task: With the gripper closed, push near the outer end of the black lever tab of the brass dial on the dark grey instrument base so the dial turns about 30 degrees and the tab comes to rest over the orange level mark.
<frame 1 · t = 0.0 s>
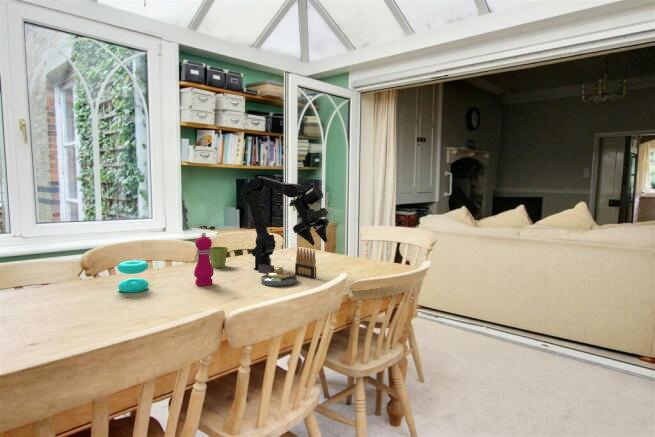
hand: (320, 243, 168), 15 cm above the table, tool tilted 35°, fingers open, 9 cm apart
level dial: (273, 270, 164), point 4 cm above the table, hinge at -30.0°
plant pot: (218, 267, 189), on the table
ammunition clip: (305, 277, 173), on the table
instrument base: (279, 282, 163), on the table
donuts: (133, 290, 148), on the table
pepper mill: (204, 284, 158), on the table
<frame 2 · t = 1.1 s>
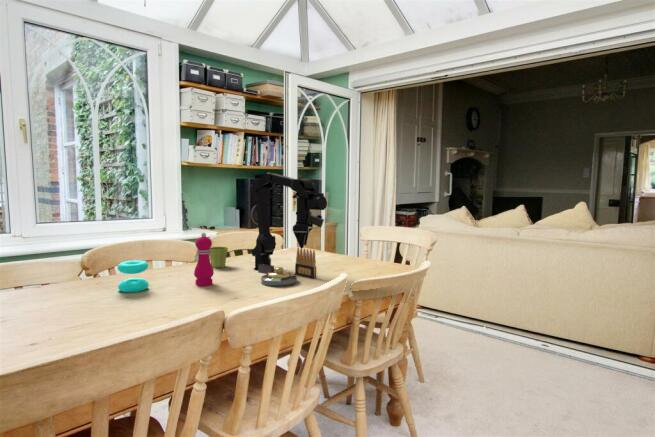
hand: (303, 246, 171), 13 cm above the table, tool pointing down, fingers open, 9 cm apart
nothing on the table moved.
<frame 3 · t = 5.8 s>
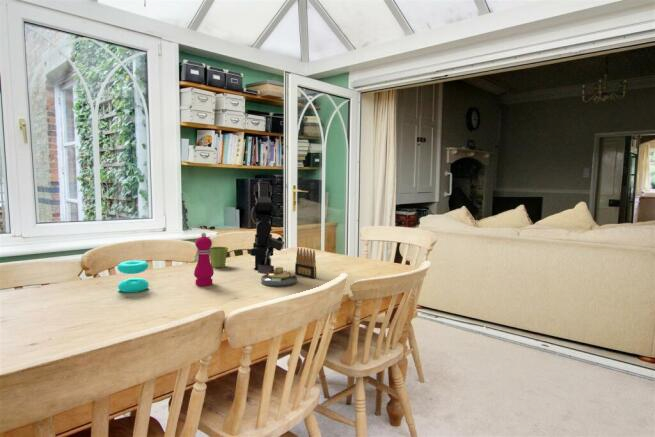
hand: (262, 268, 170), 4 cm above the table, tool pointing down, fingers closed
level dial: (273, 271, 164), point 4 cm above the table, hinge at -28.5°, touching gripper
everything else where it was.
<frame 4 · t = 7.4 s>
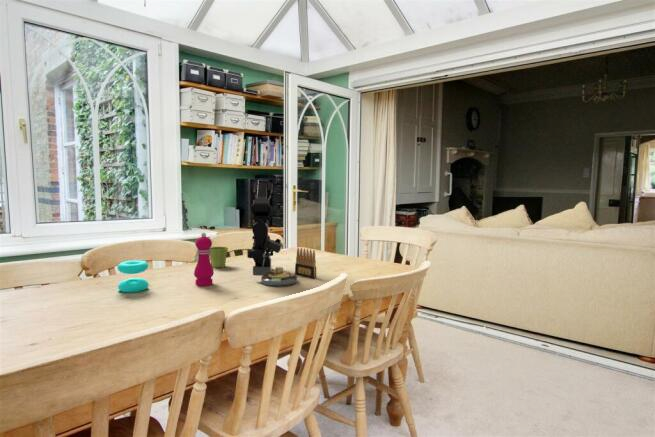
hand: (260, 271, 166), 3 cm above the table, tool pointing down, fingers closed
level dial: (271, 271, 163), point 4 cm above the table, hinge at -2.3°, touching gripper
everything else where it was.
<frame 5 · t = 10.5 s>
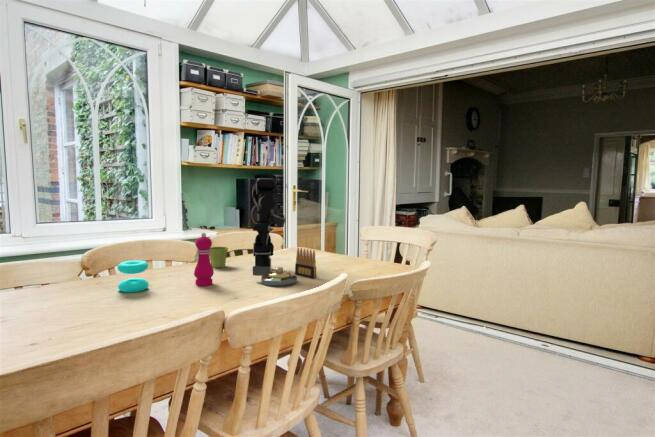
hand: (265, 245, 172), 13 cm above the table, tool pointing down, fingers closed
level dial: (271, 271, 162), point 4 cm above the table, hinge at -0.8°
everything else where it was.
at the end: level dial at -1° (first picture: -30°); ammunition clip moved 0.3 cm from its start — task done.
